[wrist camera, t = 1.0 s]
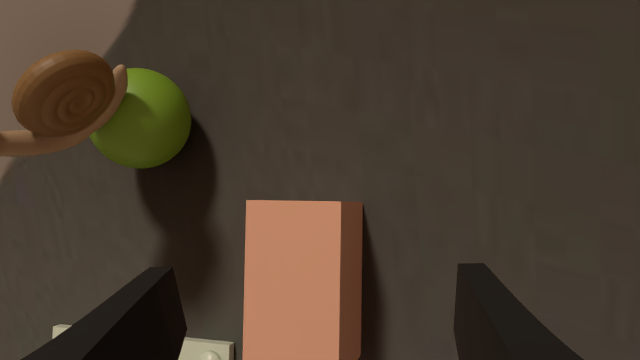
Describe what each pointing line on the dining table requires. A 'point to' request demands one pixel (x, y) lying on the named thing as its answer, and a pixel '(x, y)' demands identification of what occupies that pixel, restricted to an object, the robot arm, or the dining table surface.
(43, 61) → the snail figurine
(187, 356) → the baseplate
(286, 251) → the top brick
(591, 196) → the dining table surface
